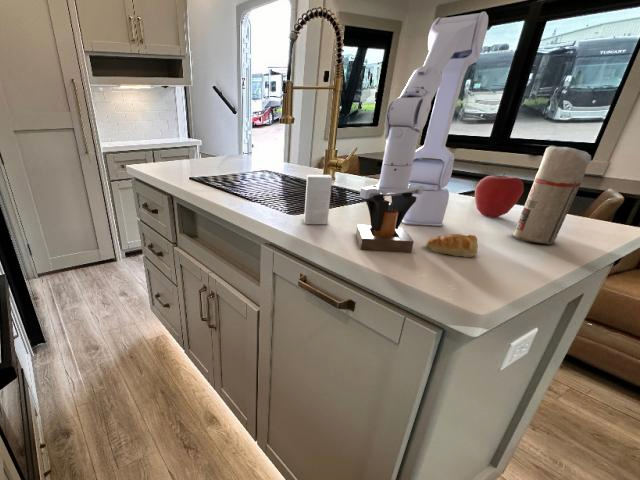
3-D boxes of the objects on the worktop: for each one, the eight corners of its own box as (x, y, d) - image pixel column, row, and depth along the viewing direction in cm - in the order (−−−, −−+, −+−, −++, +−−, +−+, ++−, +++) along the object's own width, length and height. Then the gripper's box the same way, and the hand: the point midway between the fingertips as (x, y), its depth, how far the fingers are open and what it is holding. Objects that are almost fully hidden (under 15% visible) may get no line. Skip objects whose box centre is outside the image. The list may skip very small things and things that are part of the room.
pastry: (428, 254, 75) (433, 237, 73) (421, 244, 81) (425, 227, 79) (478, 258, 73) (484, 240, 71) (467, 247, 79) (472, 230, 77)
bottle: (384, 233, 83) (391, 200, 80) (397, 238, 79) (405, 205, 76) (368, 235, 82) (374, 202, 78) (381, 241, 78) (387, 206, 75)
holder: (401, 237, 85) (403, 226, 84) (411, 252, 76) (413, 241, 75) (355, 234, 87) (357, 224, 86) (360, 249, 78) (362, 238, 77)
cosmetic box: (325, 220, 98) (330, 174, 92) (327, 225, 94) (333, 177, 88) (303, 219, 98) (307, 174, 92) (304, 224, 94) (308, 177, 89)
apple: (515, 215, 102) (531, 172, 97) (510, 223, 95) (527, 177, 90) (472, 208, 109) (484, 168, 103) (464, 216, 101) (477, 172, 96)
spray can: (515, 231, 89) (549, 144, 79) (557, 239, 84) (598, 146, 74) (507, 239, 83) (541, 146, 74) (551, 248, 78) (594, 149, 69)
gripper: (412, 160, 79) (399, 221, 85) (355, 163, 75) (346, 226, 81) (436, 164, 73) (420, 229, 79) (376, 168, 69) (365, 236, 75)
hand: (384, 228), depth 80 cm, fingers closed on bottle, 4 cm apart
